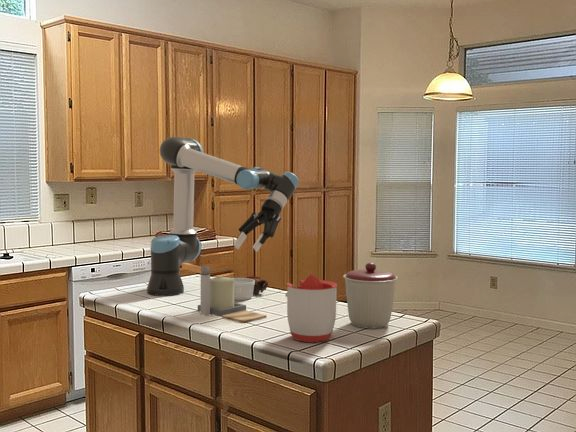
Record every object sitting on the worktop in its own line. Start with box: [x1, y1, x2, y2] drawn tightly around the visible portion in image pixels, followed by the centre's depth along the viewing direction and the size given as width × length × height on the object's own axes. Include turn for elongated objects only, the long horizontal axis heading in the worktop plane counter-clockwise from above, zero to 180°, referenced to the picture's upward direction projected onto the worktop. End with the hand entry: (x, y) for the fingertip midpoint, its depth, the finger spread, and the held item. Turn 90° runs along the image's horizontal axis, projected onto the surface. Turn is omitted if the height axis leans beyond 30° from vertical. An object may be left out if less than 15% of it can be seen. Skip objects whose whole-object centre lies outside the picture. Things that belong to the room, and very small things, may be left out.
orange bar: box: [181, 262, 211, 275], centre depth 223 cm, size 3×16×2 cm, turn 39°
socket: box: [197, 274, 247, 317], centre depth 223 cm, size 12×15×14 cm
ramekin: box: [232, 277, 255, 301], centre depth 248 cm, size 13×13×7 cm
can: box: [210, 276, 235, 310], centre depth 225 cm, size 9×9×12 cm
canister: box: [342, 262, 399, 329], centre depth 206 cm, size 18×18×21 cm
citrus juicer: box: [285, 273, 338, 344], centre depth 190 cm, size 16×17×20 cm
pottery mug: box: [245, 275, 269, 296], centre depth 257 cm, size 12×10×8 cm
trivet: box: [221, 310, 267, 324], centre depth 215 cm, size 11×11×1 cm
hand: (245, 248), depth 232 cm, fingers open, 9 cm apart
